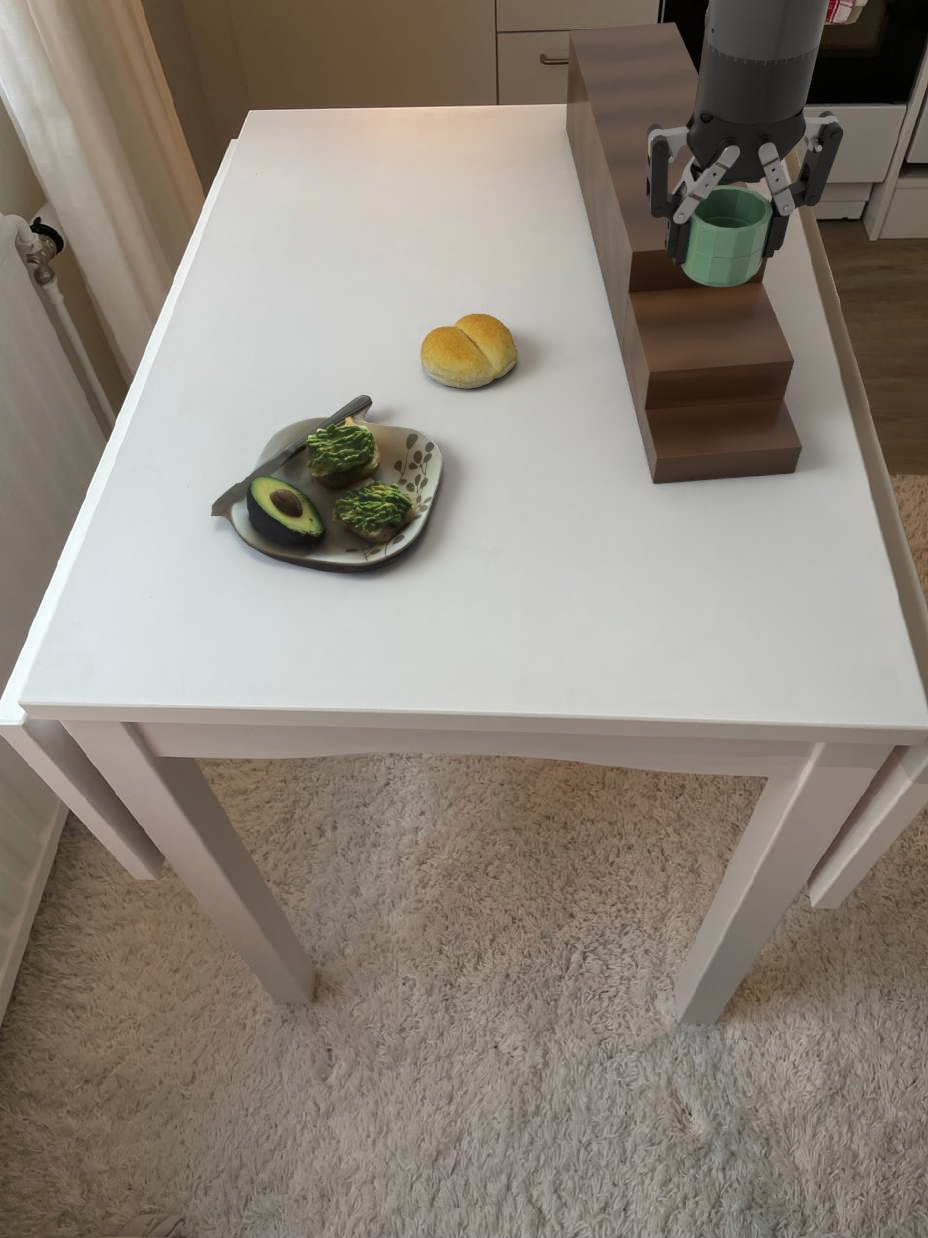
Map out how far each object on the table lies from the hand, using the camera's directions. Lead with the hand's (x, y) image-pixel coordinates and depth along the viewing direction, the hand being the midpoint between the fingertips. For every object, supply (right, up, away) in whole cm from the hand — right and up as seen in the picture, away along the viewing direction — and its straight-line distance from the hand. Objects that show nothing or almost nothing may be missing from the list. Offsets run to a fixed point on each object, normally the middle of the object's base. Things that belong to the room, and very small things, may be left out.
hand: (721, 255), depth 76 cm
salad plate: (-32, -19, +5) cm, 37 cm away
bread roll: (-20, -5, +15) cm, 25 cm away
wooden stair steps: (0, +7, +22) cm, 23 cm away
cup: (0, -1, +1) cm, 1 cm away
